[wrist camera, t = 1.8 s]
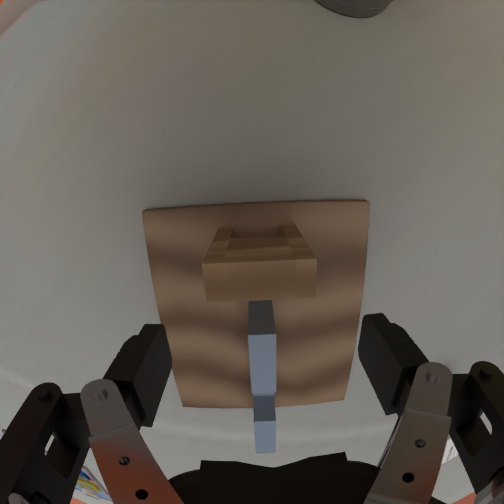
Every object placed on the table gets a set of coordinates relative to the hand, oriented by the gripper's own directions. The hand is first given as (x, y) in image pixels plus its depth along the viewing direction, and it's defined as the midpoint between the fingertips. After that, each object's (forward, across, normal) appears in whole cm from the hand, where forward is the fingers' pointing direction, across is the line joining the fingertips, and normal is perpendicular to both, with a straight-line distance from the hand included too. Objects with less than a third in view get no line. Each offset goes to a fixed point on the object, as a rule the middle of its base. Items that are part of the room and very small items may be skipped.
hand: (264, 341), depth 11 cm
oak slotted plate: (+15, 0, 0) cm, 15 cm away
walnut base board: (+16, 0, +9) cm, 18 cm away
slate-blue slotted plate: (+15, 0, +13) cm, 20 cm away
